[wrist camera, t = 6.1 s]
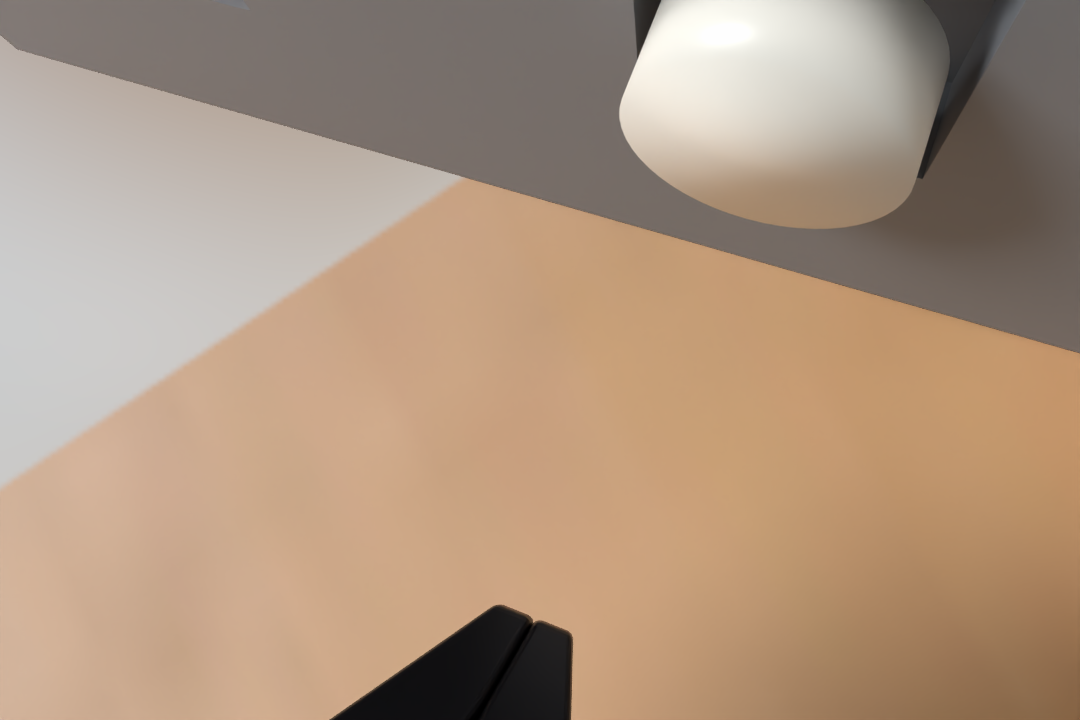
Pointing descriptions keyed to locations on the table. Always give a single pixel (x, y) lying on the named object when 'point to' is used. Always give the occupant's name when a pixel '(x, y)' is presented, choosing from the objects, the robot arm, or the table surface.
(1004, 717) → the table surface
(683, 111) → the cream button
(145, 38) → the console
